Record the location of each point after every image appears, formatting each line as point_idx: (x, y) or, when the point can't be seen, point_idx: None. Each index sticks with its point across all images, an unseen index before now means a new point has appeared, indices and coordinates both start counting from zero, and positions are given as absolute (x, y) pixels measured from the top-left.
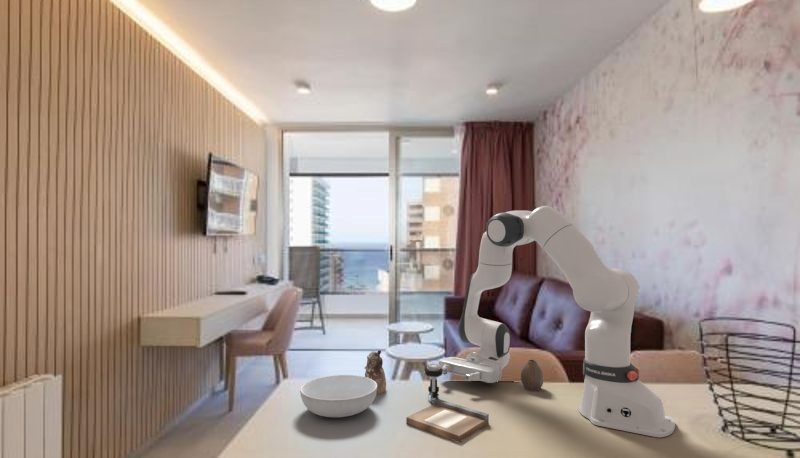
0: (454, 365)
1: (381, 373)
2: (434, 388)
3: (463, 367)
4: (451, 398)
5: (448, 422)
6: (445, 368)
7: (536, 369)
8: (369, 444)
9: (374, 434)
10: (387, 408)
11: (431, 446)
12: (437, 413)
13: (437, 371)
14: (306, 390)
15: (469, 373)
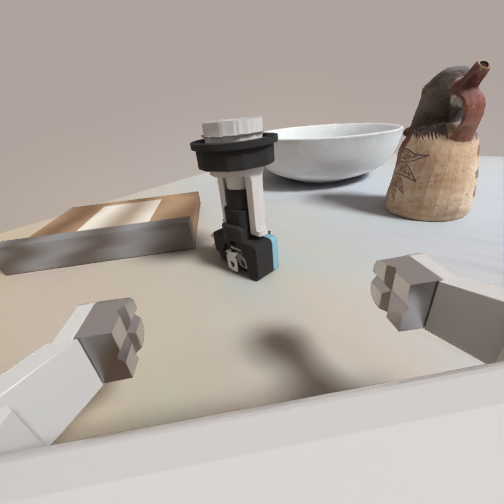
0: (478, 369)
1: (404, 150)
2: (224, 212)
3: (284, 408)
4: (206, 309)
5: (109, 212)
6: (401, 270)
7: None
8: (197, 179)
9: (212, 183)
10: (281, 201)
11: (119, 201)
12: (152, 214)
13: (198, 140)
14: (359, 134)
15: (102, 335)
